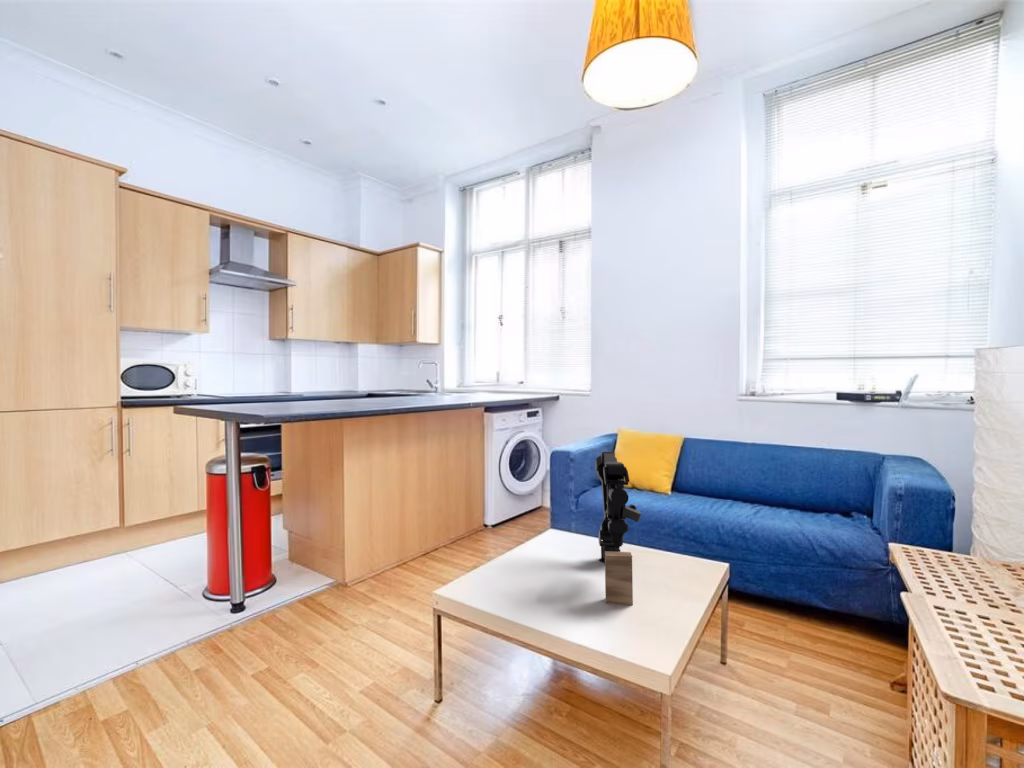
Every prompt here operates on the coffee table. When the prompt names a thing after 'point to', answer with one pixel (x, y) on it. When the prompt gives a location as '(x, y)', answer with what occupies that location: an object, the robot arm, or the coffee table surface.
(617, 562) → the walnut card box
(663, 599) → the coffee table surface
